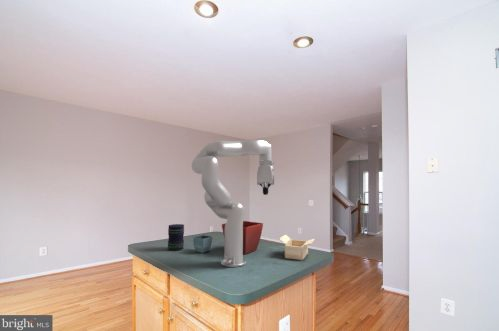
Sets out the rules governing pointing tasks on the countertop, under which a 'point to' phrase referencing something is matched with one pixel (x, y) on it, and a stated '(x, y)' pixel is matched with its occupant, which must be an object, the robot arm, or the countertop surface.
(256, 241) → the plant pot
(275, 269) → the countertop surface
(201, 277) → the countertop surface
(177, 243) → the storage jar
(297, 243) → the carton
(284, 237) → the flap left
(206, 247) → the flower pot
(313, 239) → the flap right
